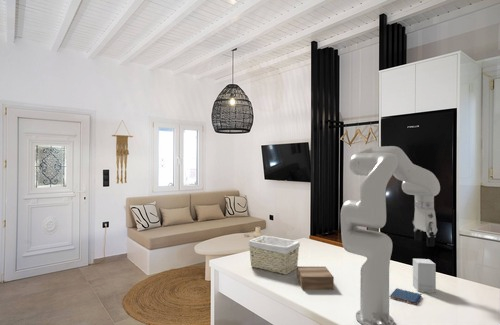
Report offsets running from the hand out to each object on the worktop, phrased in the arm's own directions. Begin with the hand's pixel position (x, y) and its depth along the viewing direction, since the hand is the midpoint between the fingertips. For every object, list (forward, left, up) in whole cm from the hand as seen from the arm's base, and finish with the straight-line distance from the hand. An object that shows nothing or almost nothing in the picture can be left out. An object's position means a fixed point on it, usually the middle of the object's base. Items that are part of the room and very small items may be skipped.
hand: (424, 243), depth 138 cm
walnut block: (+6, +48, -21) cm, 53 cm away
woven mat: (-9, +13, -21) cm, 27 cm away
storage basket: (+28, +65, -21) cm, 74 cm away
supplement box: (0, 0, -21) cm, 21 cm away
